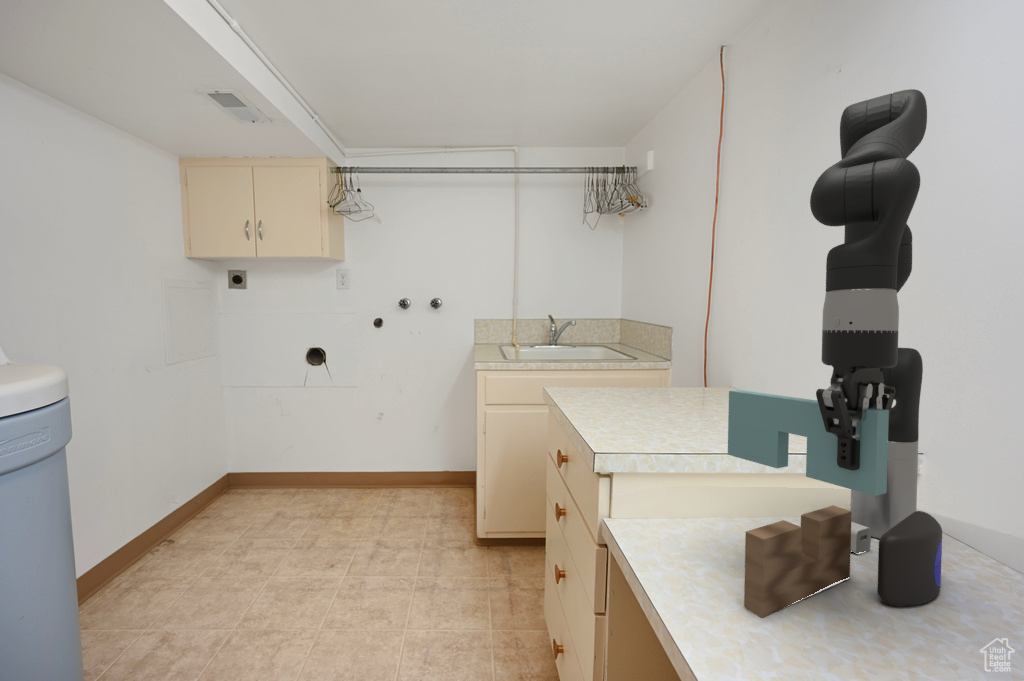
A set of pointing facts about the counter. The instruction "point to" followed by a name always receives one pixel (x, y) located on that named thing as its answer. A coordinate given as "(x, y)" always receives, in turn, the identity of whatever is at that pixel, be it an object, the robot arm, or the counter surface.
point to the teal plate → (765, 439)
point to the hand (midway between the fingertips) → (855, 466)
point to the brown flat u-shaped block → (796, 559)
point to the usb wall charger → (860, 538)
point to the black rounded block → (910, 561)
